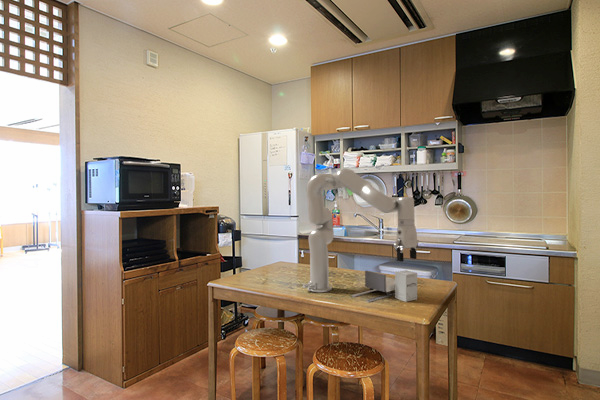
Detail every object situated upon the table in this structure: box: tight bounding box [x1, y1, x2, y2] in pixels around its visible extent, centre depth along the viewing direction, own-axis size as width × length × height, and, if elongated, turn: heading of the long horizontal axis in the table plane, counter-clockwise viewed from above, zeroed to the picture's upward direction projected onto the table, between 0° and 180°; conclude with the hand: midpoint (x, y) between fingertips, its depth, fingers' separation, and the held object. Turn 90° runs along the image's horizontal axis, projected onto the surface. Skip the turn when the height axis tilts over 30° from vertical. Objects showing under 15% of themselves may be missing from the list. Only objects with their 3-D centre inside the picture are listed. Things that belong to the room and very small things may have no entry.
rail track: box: [350, 289, 395, 303], centre depth 174 cm, size 28×14×4 cm, turn 127°
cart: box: [364, 270, 395, 295], centre depth 176 cm, size 15×14×10 cm
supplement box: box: [394, 270, 418, 303], centre depth 165 cm, size 7×7×13 cm
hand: (406, 259), depth 165 cm, fingers open, 9 cm apart
